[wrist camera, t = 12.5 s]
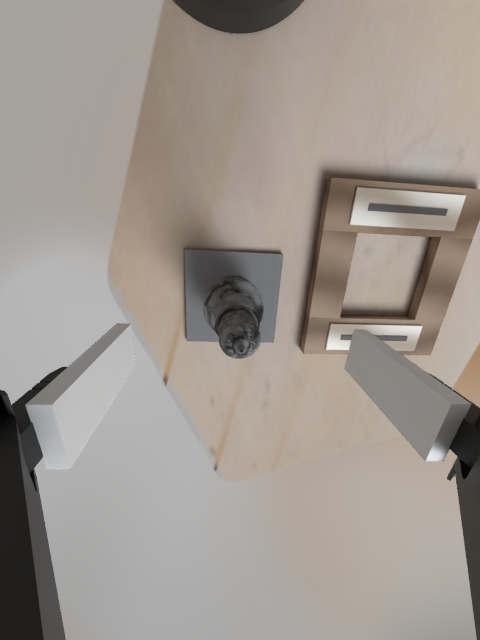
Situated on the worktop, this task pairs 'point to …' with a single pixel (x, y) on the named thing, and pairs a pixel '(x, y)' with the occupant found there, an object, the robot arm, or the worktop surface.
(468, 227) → the label board
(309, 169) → the worktop surface
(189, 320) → the rubber mat
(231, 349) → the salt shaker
